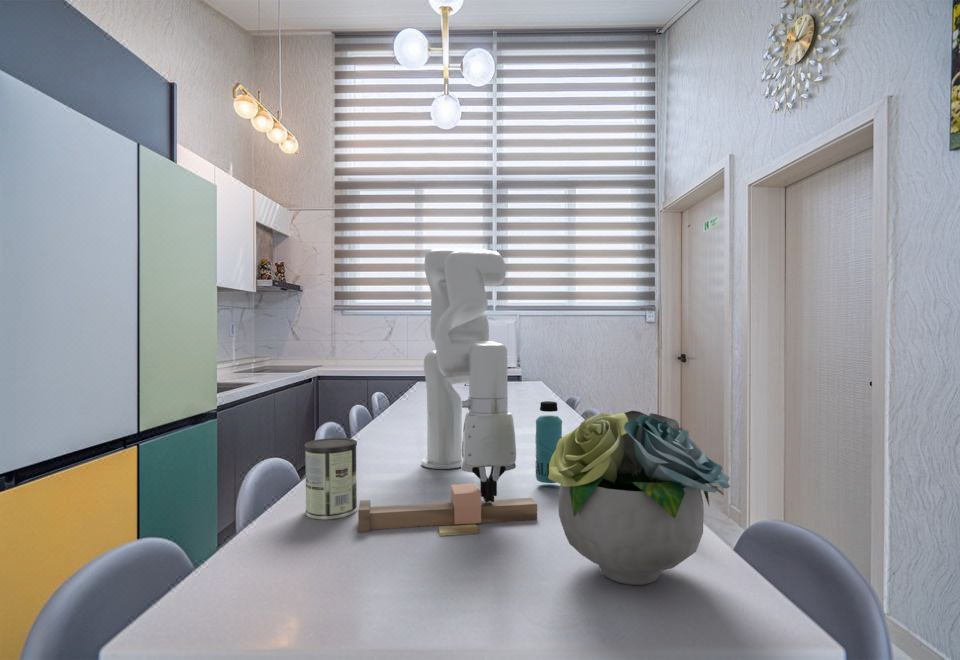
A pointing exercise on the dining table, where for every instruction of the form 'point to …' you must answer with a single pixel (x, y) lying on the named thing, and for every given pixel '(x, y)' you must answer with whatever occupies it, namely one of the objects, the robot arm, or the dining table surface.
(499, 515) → the beam
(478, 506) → the block
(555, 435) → the beverage bottle
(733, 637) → the dining table surface
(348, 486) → the coffee can
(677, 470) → the flower arrangement
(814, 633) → the dining table surface
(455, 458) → the robot arm
